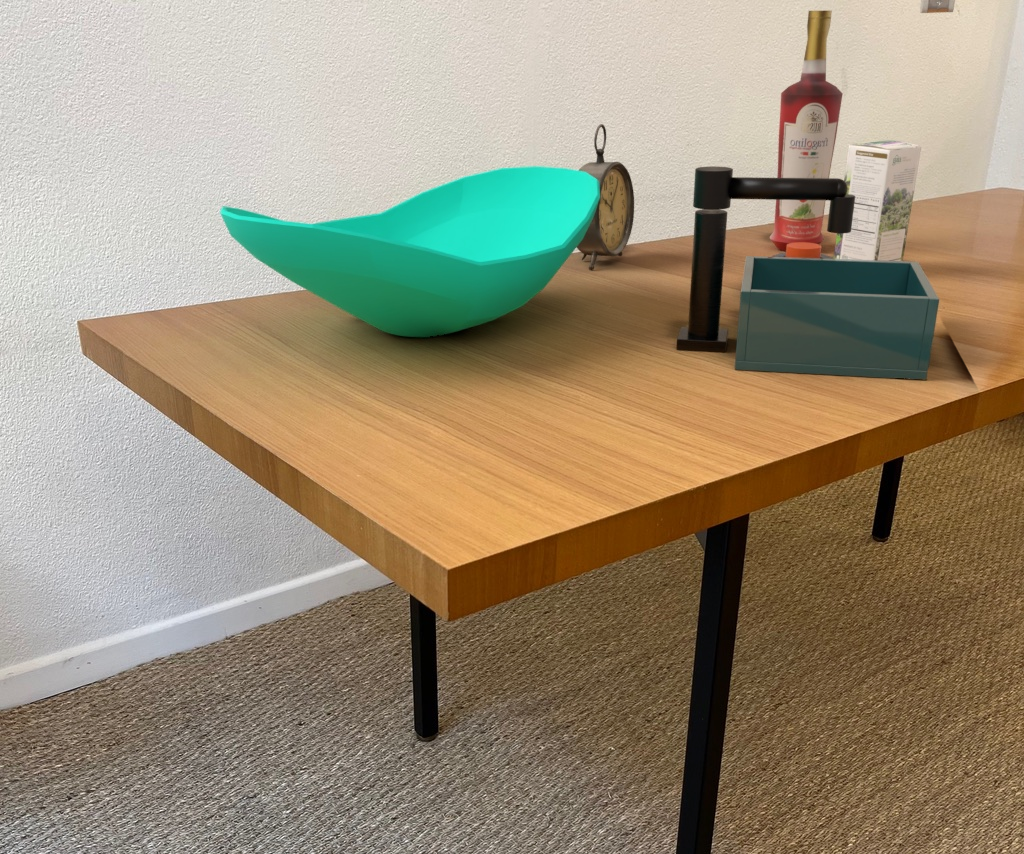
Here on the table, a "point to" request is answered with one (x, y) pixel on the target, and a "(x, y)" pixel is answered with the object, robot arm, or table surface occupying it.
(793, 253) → the button
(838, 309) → the sink
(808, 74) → the liquor
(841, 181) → the spout
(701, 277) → the dark post on base
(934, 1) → the robot arm
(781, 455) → the table surface
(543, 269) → the table top decor
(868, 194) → the syrup box
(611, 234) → the alarm clock
